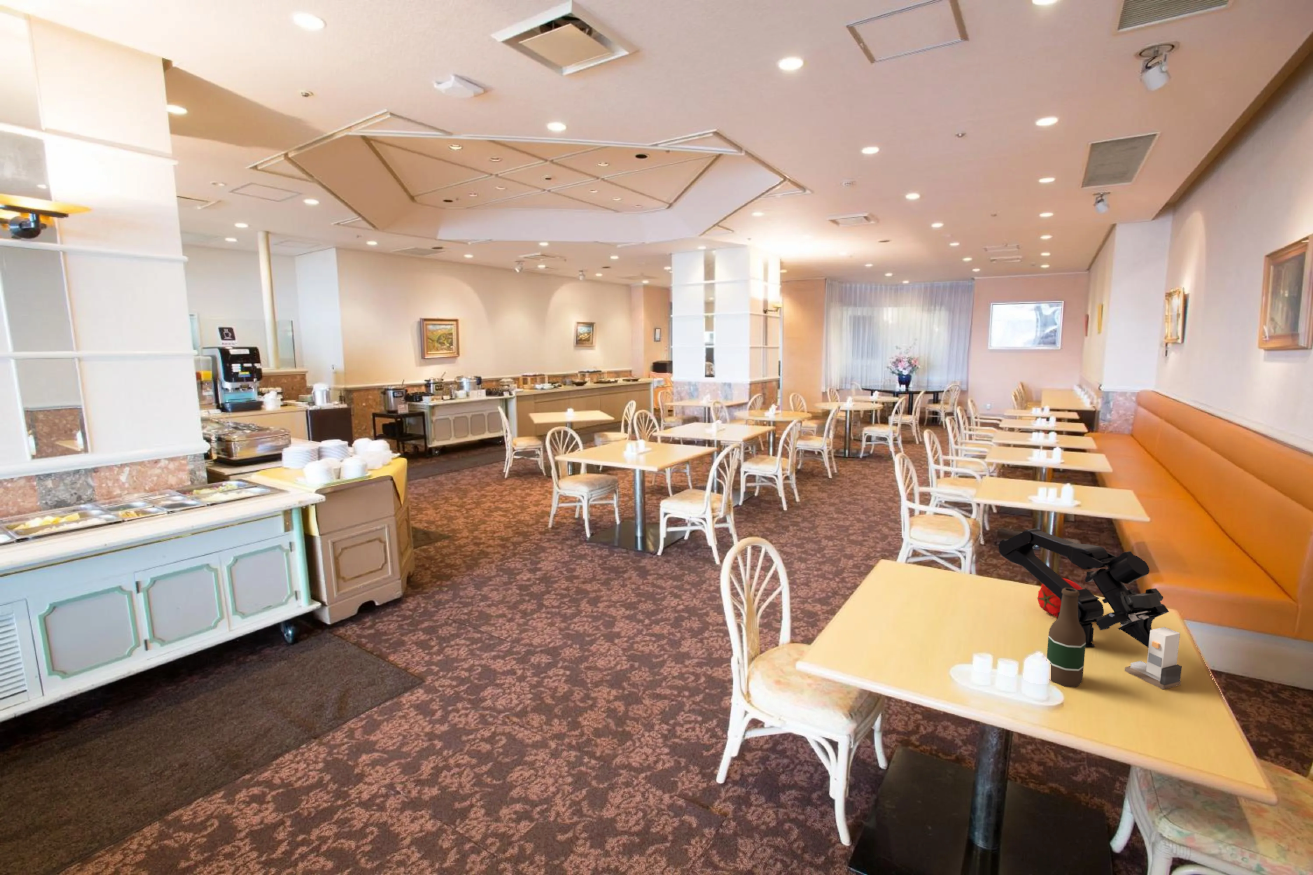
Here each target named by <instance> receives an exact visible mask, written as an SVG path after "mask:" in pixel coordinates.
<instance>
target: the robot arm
mask: <svg viewBox="0 0 1313 875" xmlns="http://www.w3.org/2000/svg"><path fill="white" fill-rule="evenodd" d="M1034 547H1039V548H1043V549H1044V550H1047V551H1050V552H1052V553H1054V554H1055V553H1056V554H1058V555H1060V556H1063V557H1065V558H1067V559H1068V561H1070V562H1071V564H1073V565H1075V566H1077V567H1079V568H1080V569H1082V570H1090V571H1087V572H1086V576H1085V579H1084V582H1085V583H1090V582H1093V583H1095V585H1096V587H1097V588H1098V590H1099V591H1100V593H1101V594H1102V596H1103V599H1102V600H1101V601H1102V602H1103V603H1102V602H1101V601H1100V597H1098V596H1096V595H1094V594H1093V593H1092V591H1090V590H1089V589H1088V588H1083V589H1080V590H1077V589H1076V590H1077V591H1079V594H1080V595H1079V596H1078V619H1079V623H1080V625H1081V626H1082V628H1083V629H1084V632H1085V635H1086V646H1085V648H1095V647H1096V644H1094V643H1093V642H1094V630H1095V629H1094V627H1093V626H1094V625H1093V624H1094V623H1095V624H1096V626H1097V627H1098V629H1099V630H1100V631H1105V630H1108V629H1110V628H1111V627H1112V626H1114V625H1117V624H1119V623H1120V624H1119V625H1120V626H1119V627H1117V629H1118V631H1122V632H1123V633H1125V634H1127V635H1129V636H1130V637H1131V638H1132V639H1135V640H1136V641H1138V643H1141V644H1142V645H1143V646H1145V647H1146V648H1148V647H1149V638H1150V630H1153V629H1152V623H1153V621H1154V620H1155V619H1156V618H1158V617H1160V616H1162V615H1165V614H1167V613H1168V614H1169V613H1170V611H1169V609H1168V608H1167V607H1166V605H1165V604H1163V603H1162V602H1161V601H1163V599H1164V596H1163V595H1162V593H1161V592H1160V591H1159V590H1158V589H1157V588H1147V589H1146V590H1145V592H1143V593H1137V592H1136V590H1135V589H1132V588H1129V589H1128V588H1127V586H1126V585H1129V584H1131V583H1133V582H1135V581H1137V580H1139V579H1141V578H1143V577H1145V576H1147V575H1149V573H1150V567H1149V565H1148V563H1147V562H1146V561H1145V560H1143V559H1142V558H1141V557H1139V556H1138V555H1134V554H1133V552H1132V551H1130V550H1128V551H1123V552H1122V553H1120V554H1119V555H1118V556H1116V555H1114V554H1112V553H1110V552H1109V551H1107V549H1105V548H1104V547H1102V546H1100V545H1095V544H1094V545H1093V544H1088V543H1077V542H1073V541H1070V540H1067V539H1064V538H1062V537H1059V536H1056V535H1054V534H1051V533H1048V532H1045V531H1042V530H1041V529H1038V528H1029V529H1025V530H1022V532H1020V533H1019V534H1015V535H1014V536H1012V537H1009V538H1007V539H1002V540H1000V542H999V544H998V553H999V554H1000V556H1002V557H1003V558H1004V559H1006V560H1007V561H1009V562H1011V563H1013V564H1016V565H1019V566H1021V567H1023V568H1024V569H1025V570H1026V571H1028V572H1029V573H1030V574H1031V575H1032V576H1033V577H1034V578H1035V579H1037V581H1039V582H1040V583H1041V585H1042V584H1044V585H1045V586H1046V587H1047V588H1048V589H1049V590H1050V591H1052V592H1053V593H1054V594H1055V595H1056V596H1057V597H1058V598H1059V599H1060V600H1061V601H1062V595H1063V593H1062V592H1061V591H1062V589H1064V588H1073V587H1072V586H1071V585H1070V584H1069V583H1067V582H1066V581H1065V580H1064V579H1063V578H1064V577H1062V576H1060V575H1059V574H1058V572H1056V571H1055V570H1053V569H1052V568H1051V567H1050V566H1049V565H1047V564H1046V563H1045V562H1044V561H1042V560H1041V559H1040V558H1039V557H1037V555H1036V554H1035V553H1036V552H1035V551H1034ZM1094 569H1097V570H1095V571H1094ZM1091 570H1092V571H1091ZM1125 584H1126V585H1125ZM1073 589H1075V588H1073ZM1104 604H1108V605H1109V606H1110V608H1111V609H1112V612H1109V613H1106V614H1104V612H1105V609H1104ZM1059 613H1060V612H1058V617H1059ZM1058 617H1057V618H1058Z"/></svg>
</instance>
